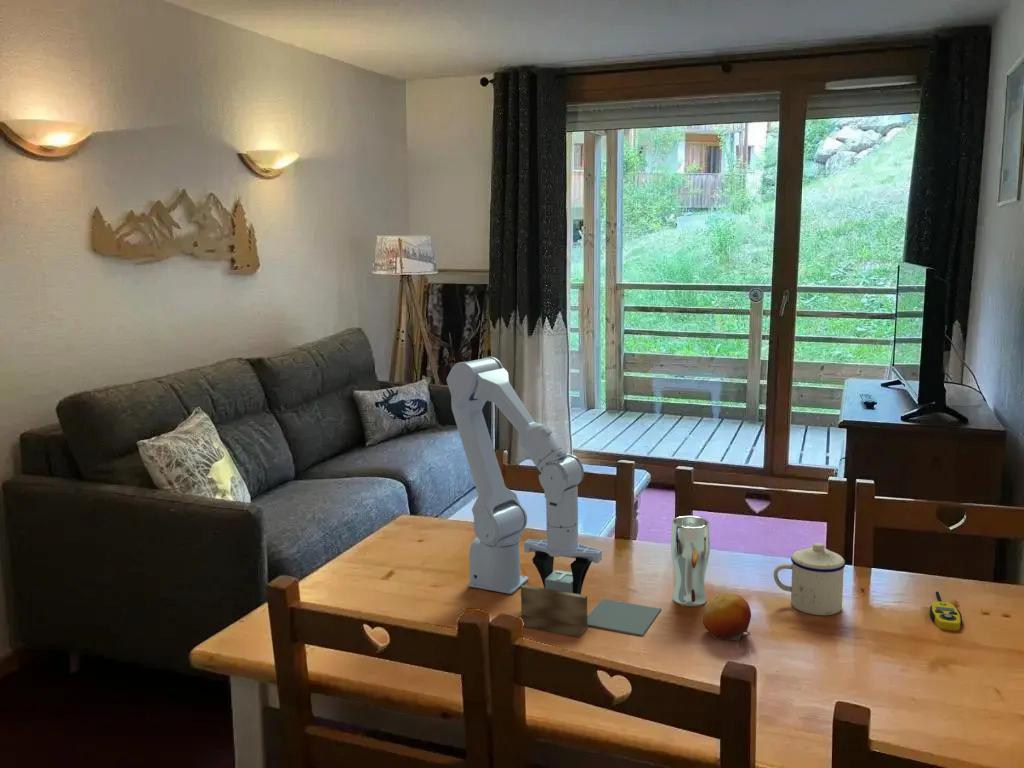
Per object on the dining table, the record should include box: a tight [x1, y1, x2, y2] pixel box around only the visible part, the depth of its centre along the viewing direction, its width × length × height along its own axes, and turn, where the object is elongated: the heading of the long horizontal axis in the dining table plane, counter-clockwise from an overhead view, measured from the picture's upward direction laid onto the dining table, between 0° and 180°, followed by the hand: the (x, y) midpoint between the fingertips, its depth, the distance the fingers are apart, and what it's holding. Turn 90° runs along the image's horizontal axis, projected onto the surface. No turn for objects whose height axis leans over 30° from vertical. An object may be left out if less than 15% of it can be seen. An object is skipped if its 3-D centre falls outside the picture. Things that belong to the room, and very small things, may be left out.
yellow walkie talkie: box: [929, 590, 963, 632], centre depth 151 cm, size 5×2×15 cm
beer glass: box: [670, 515, 711, 607], centre depth 157 cm, size 7×7×15 cm
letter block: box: [545, 569, 573, 593], centre depth 158 cm, size 5×5×5 cm
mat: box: [587, 598, 662, 637], centre depth 151 cm, size 11×11×1 cm
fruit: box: [701, 592, 752, 642], centre depth 144 cm, size 8×8×8 cm
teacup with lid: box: [773, 542, 846, 616], centre depth 154 cm, size 12×9×12 cm
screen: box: [519, 584, 588, 638], centre depth 148 cm, size 12×4×6 cm, turn 64°
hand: (562, 593), depth 158 cm, fingers closed on letter block, 5 cm apart
